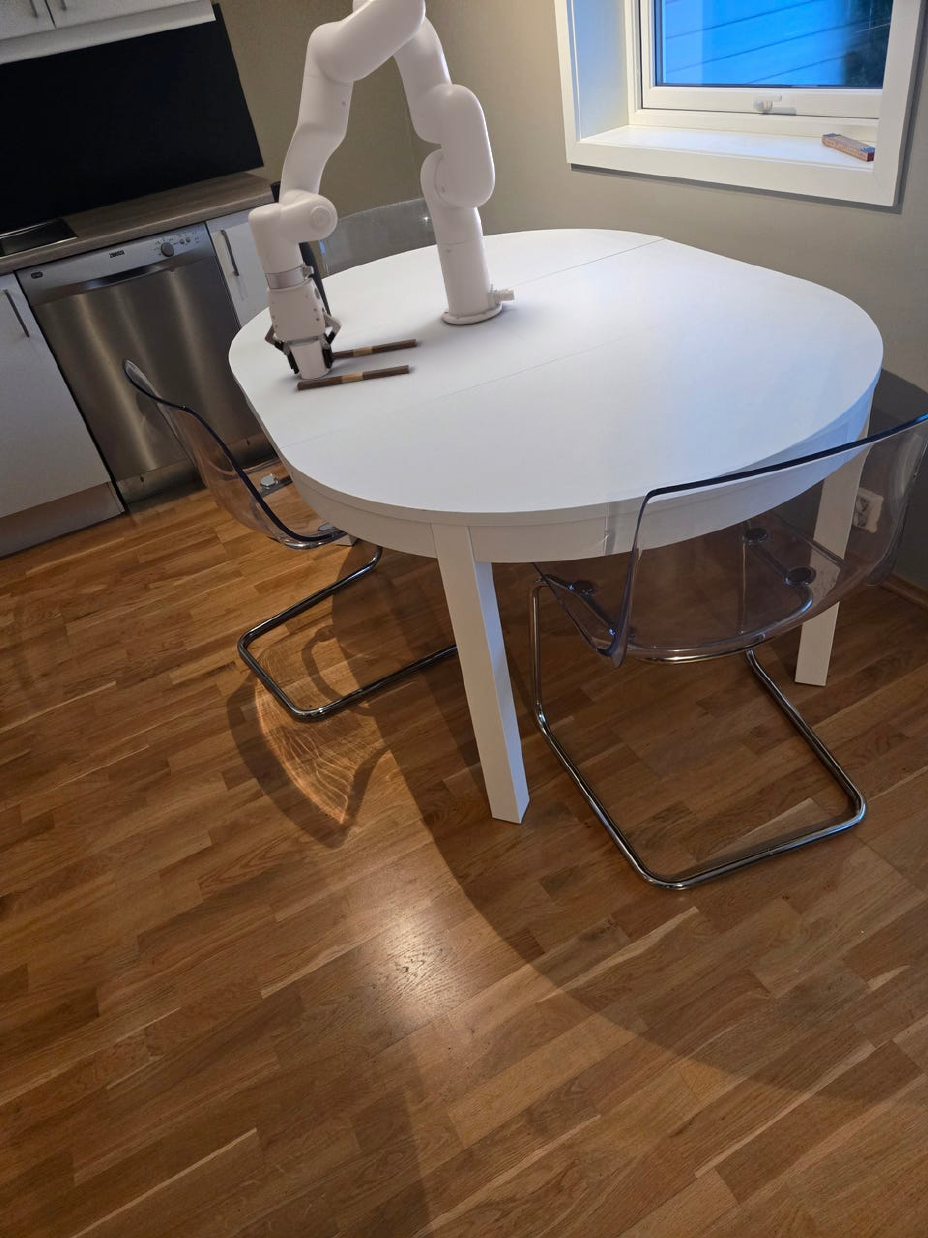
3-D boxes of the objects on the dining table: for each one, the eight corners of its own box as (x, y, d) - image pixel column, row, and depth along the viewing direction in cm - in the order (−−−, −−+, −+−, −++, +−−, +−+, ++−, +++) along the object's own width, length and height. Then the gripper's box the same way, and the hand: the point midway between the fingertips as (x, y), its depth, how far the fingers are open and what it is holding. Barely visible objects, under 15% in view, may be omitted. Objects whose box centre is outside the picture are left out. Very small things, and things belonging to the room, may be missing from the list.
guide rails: (416, 343, 177) (415, 338, 177) (408, 372, 165) (407, 367, 165) (313, 360, 180) (311, 355, 180) (298, 390, 169) (296, 385, 168)
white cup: (325, 378, 171) (315, 344, 167) (293, 381, 173) (282, 347, 168) (336, 364, 176) (327, 330, 172) (305, 367, 178) (295, 334, 174)
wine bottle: (338, 319, 199) (299, 176, 182) (323, 330, 195) (282, 185, 177) (315, 319, 202) (275, 179, 184) (300, 330, 198) (257, 188, 180)
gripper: (334, 263, 165) (358, 355, 175) (248, 278, 167) (277, 368, 178) (327, 275, 159) (353, 369, 169) (238, 291, 161) (268, 383, 172)
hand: (313, 368), depth 174 cm, fingers closed on white cup, 6 cm apart
